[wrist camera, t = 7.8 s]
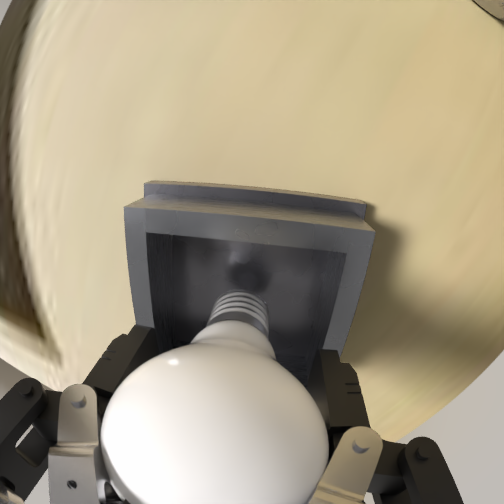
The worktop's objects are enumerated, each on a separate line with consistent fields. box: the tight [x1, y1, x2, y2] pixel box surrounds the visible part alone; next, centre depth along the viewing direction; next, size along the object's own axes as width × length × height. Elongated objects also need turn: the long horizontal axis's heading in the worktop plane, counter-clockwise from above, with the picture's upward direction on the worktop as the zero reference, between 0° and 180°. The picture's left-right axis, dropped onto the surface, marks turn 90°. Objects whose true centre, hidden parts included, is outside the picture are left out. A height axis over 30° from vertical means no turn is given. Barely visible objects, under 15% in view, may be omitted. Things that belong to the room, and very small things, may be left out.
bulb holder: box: [124, 181, 376, 389], centre depth 14 cm, size 11×11×4 cm
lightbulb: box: [100, 290, 329, 504], centre depth 9 cm, size 6×6×11 cm
